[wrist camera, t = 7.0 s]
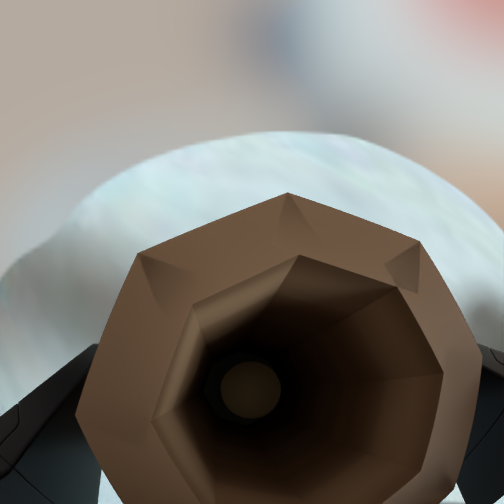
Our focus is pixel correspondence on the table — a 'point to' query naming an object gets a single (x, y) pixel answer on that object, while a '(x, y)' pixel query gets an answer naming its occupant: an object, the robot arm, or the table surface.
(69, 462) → the robot arm
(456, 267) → the table surface
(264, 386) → the post stand
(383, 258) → the brown faceted vase
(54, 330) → the table surface
